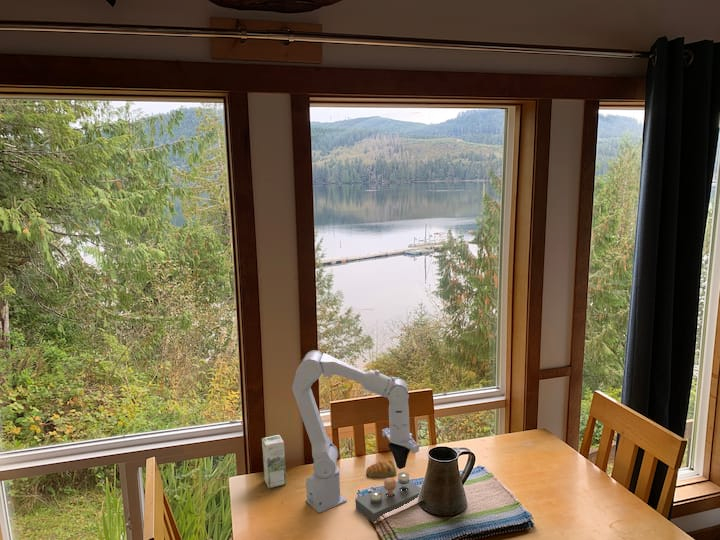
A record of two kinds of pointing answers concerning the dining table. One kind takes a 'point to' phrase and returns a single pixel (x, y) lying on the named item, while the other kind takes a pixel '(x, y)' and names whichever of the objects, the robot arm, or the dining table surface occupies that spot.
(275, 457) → the syrup box
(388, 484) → the middle knob
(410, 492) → the knob panel
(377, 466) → the pastry
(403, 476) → the far knob
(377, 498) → the near knob
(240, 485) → the dining table surface
